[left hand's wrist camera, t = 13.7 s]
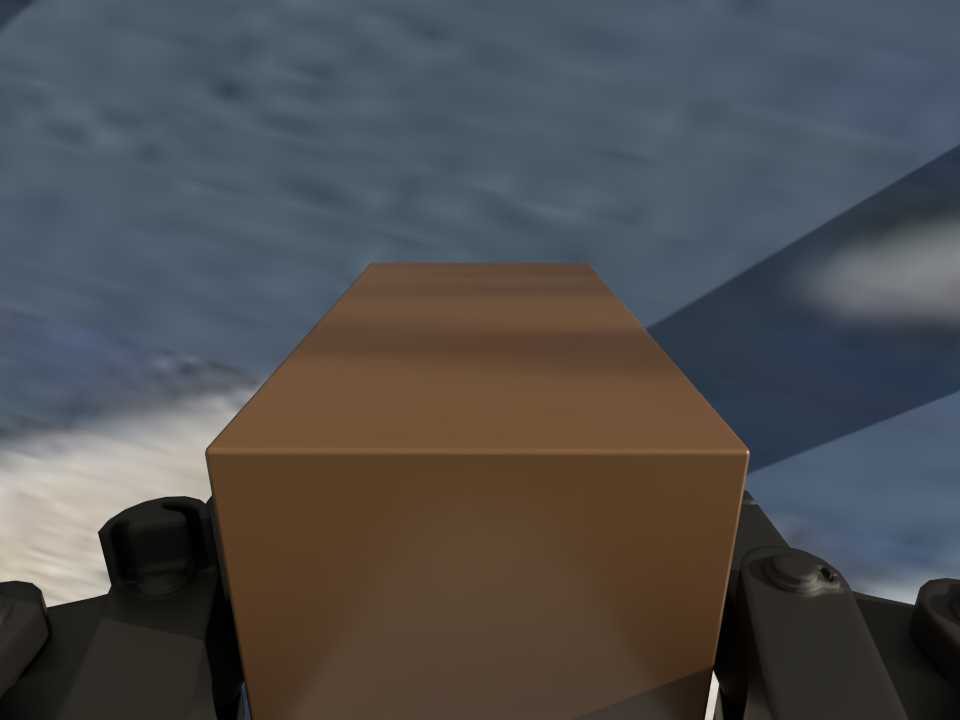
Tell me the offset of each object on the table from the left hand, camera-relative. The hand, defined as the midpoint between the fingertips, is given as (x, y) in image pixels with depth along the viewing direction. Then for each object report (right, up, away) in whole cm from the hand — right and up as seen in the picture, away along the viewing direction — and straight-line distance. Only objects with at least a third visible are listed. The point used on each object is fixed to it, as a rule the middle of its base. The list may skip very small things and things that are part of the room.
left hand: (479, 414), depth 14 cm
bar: (0, -9, +4) cm, 10 cm away
